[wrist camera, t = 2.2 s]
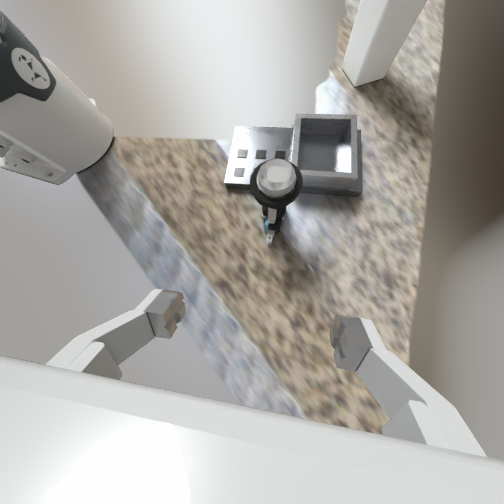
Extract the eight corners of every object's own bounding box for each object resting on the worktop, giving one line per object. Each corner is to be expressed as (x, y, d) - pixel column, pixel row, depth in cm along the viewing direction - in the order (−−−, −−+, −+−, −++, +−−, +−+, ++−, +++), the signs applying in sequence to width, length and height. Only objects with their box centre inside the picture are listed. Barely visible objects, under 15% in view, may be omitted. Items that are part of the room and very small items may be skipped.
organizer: (226, 187, 29) (220, 171, 26) (236, 132, 32) (232, 111, 29) (357, 196, 27) (371, 180, 23) (357, 136, 30) (369, 114, 26)
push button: (286, 248, 26) (297, 216, 16) (250, 241, 27) (239, 206, 17) (294, 206, 27) (308, 154, 18) (259, 200, 28) (255, 148, 19)
